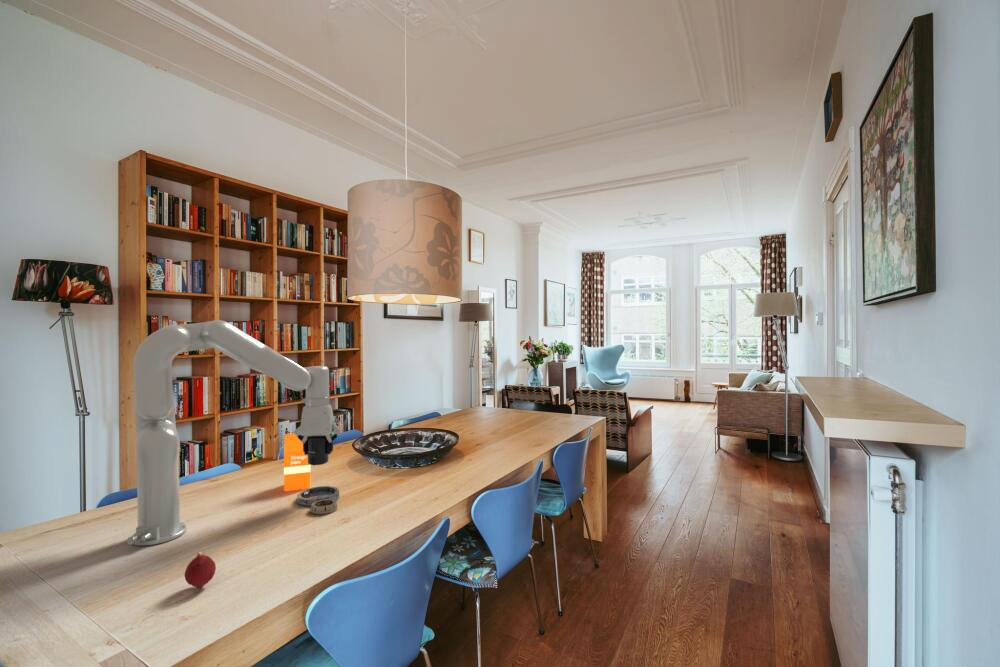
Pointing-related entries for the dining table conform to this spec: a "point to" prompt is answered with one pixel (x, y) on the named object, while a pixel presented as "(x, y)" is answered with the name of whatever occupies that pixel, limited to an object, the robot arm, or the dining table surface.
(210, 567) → the onion
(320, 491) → the wide flange
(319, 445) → the supplement bottle
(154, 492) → the robot arm
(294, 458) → the orange juice
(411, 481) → the dining table surface
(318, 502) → the narrow flange
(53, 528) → the dining table surface
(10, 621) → the dining table surface
